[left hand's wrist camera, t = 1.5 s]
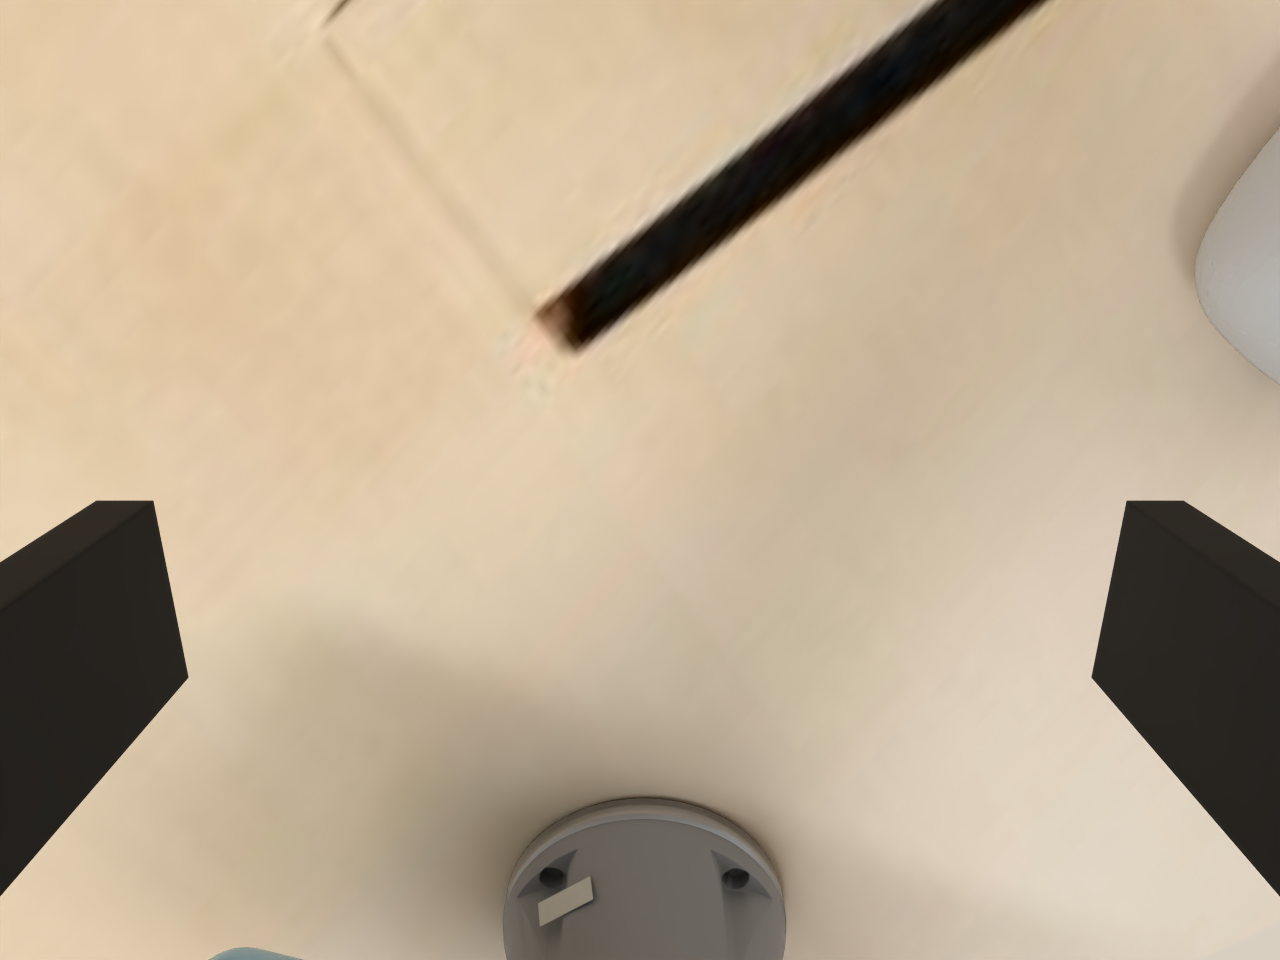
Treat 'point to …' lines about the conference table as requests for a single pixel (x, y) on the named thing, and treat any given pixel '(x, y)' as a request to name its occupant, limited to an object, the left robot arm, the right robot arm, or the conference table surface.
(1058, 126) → the conference table surface
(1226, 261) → the projector
